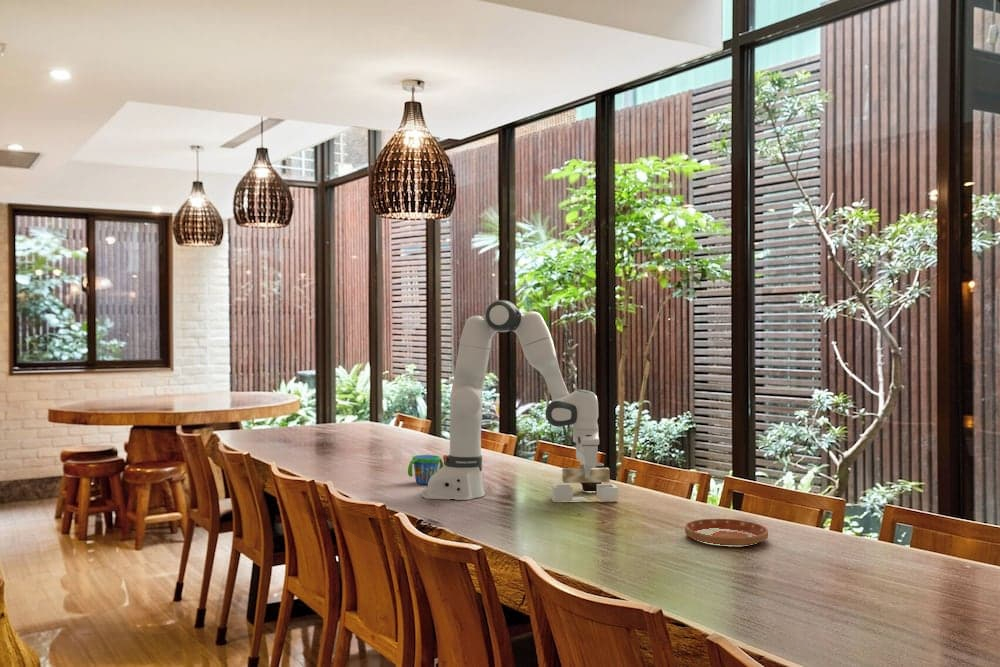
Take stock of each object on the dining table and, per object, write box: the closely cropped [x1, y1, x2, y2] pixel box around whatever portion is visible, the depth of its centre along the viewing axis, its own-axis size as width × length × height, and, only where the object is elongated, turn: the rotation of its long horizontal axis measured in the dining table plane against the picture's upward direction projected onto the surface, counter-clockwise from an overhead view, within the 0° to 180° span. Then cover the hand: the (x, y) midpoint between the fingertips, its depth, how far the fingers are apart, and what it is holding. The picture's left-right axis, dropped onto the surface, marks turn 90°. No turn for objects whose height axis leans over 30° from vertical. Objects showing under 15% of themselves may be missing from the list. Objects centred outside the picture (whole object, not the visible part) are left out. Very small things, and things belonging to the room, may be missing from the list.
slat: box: [561, 467, 611, 484], centre depth 294 cm, size 16×3×4 cm, turn 95°
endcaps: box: [551, 483, 619, 503], centre depth 294 cm, size 22×7×5 cm, turn 94°
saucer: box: [684, 518, 769, 545], centre depth 242 cm, size 23×23×4 cm
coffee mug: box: [579, 462, 605, 491], centre depth 311 cm, size 12×9×10 cm
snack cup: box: [407, 454, 444, 486], centre depth 323 cm, size 16×10×10 cm
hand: (585, 476), depth 294 cm, fingers closed on slat, 3 cm apart
